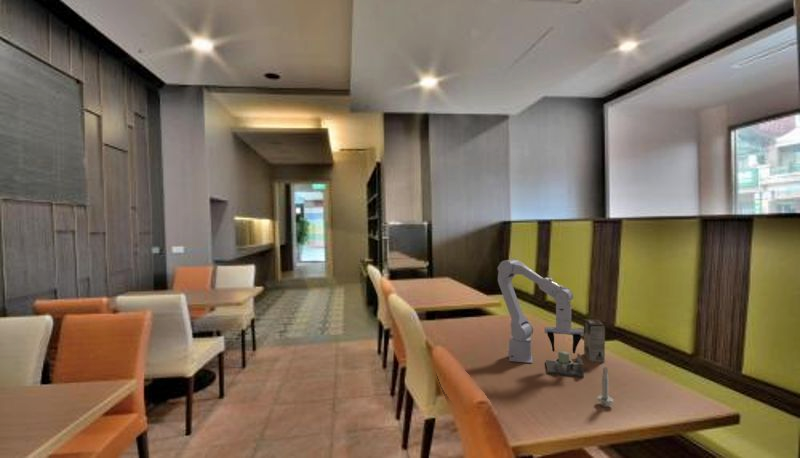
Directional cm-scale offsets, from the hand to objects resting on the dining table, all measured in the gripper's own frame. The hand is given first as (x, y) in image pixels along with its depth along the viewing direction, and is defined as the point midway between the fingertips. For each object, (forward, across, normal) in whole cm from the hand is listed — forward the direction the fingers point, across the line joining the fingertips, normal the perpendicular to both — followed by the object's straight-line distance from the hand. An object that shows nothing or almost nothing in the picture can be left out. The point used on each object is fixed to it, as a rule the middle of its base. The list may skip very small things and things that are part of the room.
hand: (563, 351), depth 153 cm
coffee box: (+8, +14, +17) cm, 23 cm away
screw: (+8, +10, -27) cm, 30 cm away
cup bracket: (+7, 0, 0) cm, 7 cm away
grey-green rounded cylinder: (+6, 0, 0) cm, 6 cm away
